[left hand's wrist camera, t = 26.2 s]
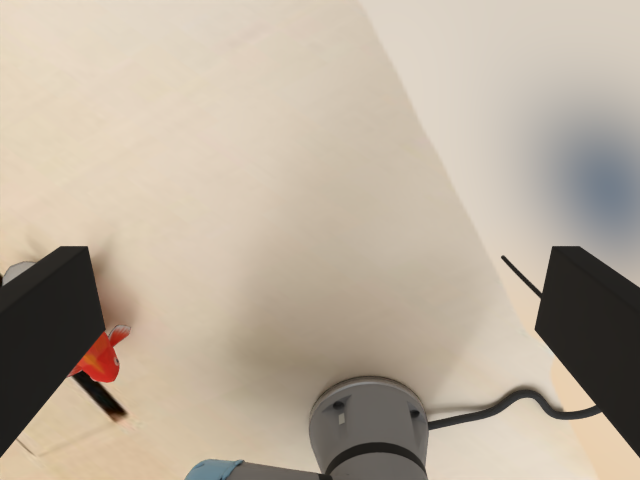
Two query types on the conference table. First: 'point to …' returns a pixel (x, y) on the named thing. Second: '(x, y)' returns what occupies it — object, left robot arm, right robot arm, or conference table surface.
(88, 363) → the fish
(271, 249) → the conference table surface
